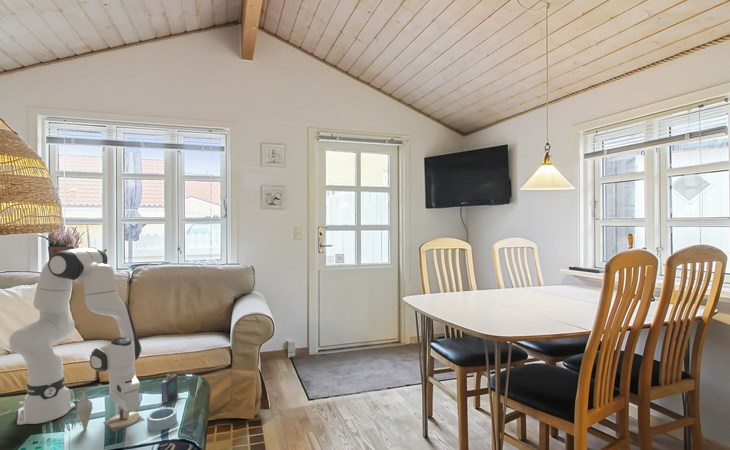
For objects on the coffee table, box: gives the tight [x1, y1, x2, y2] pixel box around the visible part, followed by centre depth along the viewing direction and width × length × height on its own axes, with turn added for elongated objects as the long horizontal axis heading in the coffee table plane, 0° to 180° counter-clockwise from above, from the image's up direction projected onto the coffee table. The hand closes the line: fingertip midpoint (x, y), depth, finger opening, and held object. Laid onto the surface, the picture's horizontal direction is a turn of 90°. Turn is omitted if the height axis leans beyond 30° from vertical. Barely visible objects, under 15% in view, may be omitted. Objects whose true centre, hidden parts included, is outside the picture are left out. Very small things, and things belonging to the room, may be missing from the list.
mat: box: [103, 411, 145, 433], centre depth 156 cm, size 11×11×1 cm
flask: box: [160, 373, 178, 403], centre depth 176 cm, size 9×3×11 cm, turn 172°
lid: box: [107, 410, 140, 428], centre depth 156 cm, size 10×10×4 cm
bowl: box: [146, 407, 178, 432], centre depth 154 cm, size 10×10×4 cm
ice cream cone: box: [75, 391, 94, 431], centre depth 151 cm, size 5×5×15 cm
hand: (123, 415), depth 156 cm, fingers closed on lid, 3 cm apart
